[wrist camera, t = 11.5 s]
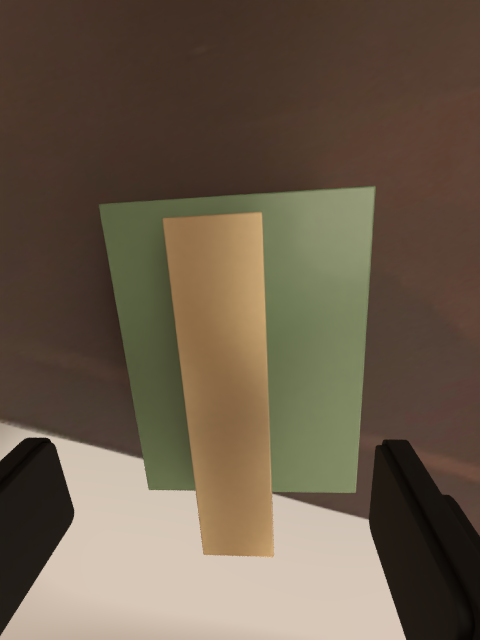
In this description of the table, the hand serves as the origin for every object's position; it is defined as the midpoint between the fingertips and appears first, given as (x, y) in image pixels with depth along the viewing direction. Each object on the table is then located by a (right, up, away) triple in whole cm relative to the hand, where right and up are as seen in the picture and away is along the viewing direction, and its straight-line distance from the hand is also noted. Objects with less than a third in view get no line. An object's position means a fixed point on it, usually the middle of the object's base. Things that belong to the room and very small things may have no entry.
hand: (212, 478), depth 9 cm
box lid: (+1, +2, +9) cm, 9 cm away
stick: (+1, +2, +8) cm, 9 cm away
